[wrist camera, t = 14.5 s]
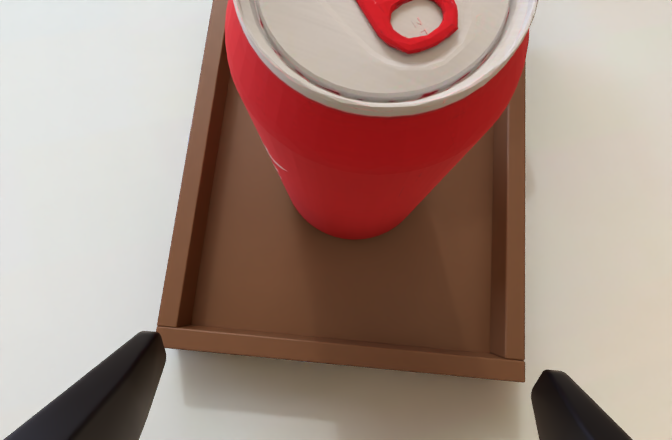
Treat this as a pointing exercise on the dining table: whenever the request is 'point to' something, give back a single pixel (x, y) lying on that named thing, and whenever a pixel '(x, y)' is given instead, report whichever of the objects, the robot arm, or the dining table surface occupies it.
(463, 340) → the tray
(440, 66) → the beverage can
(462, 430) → the dining table surface
